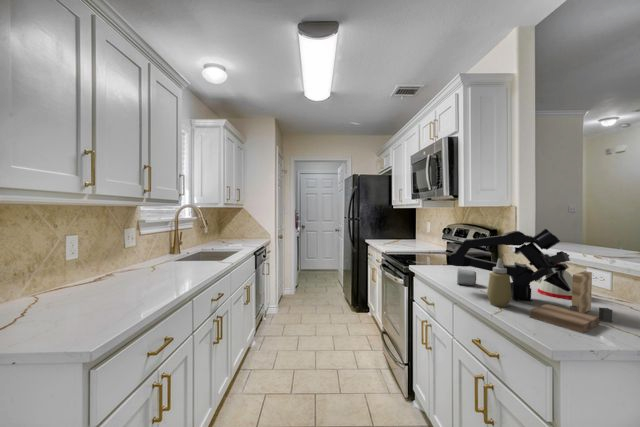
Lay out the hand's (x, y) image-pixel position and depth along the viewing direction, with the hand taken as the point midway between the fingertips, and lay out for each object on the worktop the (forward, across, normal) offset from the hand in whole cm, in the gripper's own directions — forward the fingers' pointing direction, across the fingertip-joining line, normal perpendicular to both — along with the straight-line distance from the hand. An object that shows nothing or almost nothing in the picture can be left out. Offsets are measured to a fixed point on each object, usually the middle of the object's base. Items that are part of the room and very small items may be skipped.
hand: (569, 291), depth 104 cm
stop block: (+12, -2, -2) cm, 13 cm away
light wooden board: (+7, 0, +2) cm, 8 cm away
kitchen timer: (-2, +20, +12) cm, 24 cm away
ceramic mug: (-23, 0, +34) cm, 41 cm away
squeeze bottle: (-6, -17, +16) cm, 25 cm away
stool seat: (+7, -15, +3) cm, 17 cm away
